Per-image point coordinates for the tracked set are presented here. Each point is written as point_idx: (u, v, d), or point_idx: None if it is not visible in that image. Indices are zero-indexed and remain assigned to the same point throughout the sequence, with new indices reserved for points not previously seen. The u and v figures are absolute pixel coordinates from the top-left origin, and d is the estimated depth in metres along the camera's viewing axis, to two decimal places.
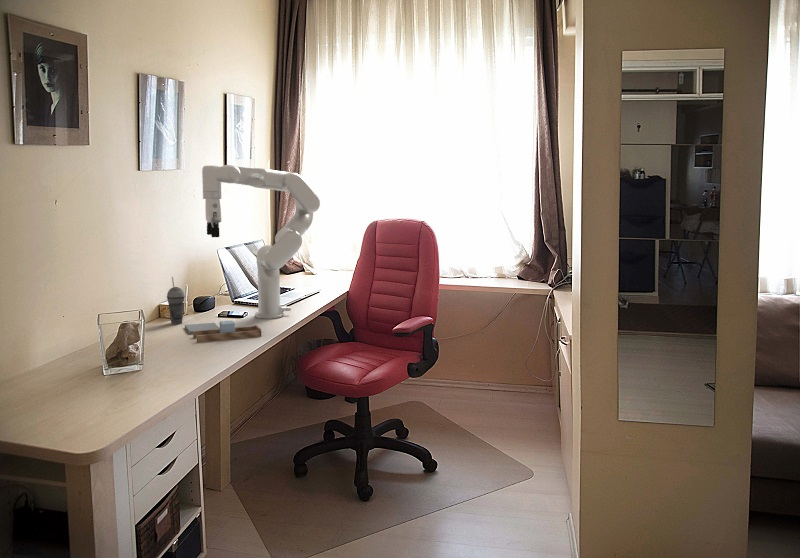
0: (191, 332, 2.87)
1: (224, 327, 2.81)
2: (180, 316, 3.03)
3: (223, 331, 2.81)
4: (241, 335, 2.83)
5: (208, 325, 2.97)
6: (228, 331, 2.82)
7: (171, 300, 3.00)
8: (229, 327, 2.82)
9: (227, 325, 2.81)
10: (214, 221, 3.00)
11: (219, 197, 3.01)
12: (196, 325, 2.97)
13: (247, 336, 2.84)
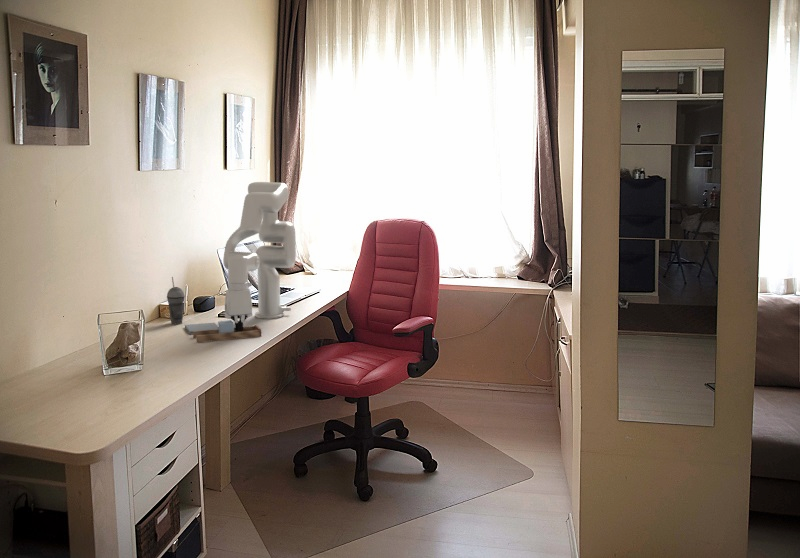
0: (191, 332, 2.87)
1: (223, 327, 2.81)
2: (180, 316, 3.03)
3: (222, 331, 2.81)
4: (241, 335, 2.83)
5: (208, 325, 2.97)
6: (227, 331, 2.82)
7: (171, 300, 3.00)
8: (228, 327, 2.81)
9: (226, 325, 2.81)
10: None
11: None
12: (196, 325, 2.97)
13: (247, 336, 2.84)
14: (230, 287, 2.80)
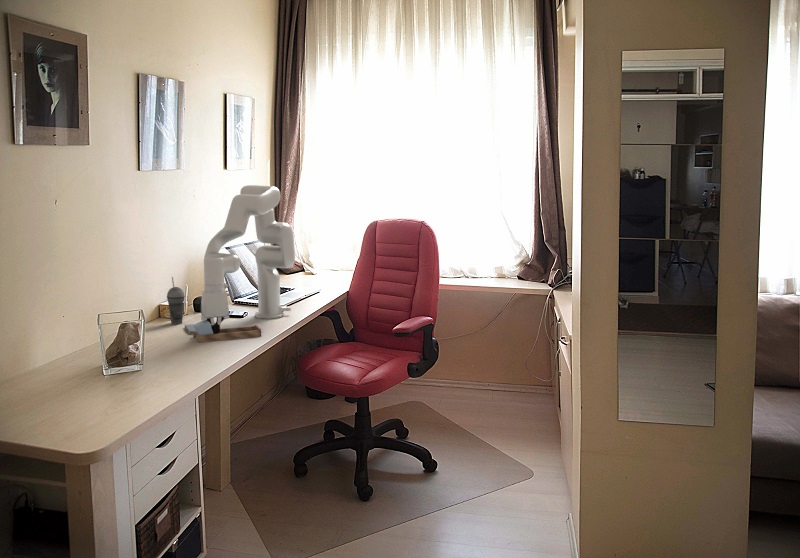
0: (191, 332, 2.87)
1: (200, 329, 2.76)
2: (180, 316, 3.03)
3: (200, 333, 2.77)
4: (241, 335, 2.83)
5: None
6: (205, 331, 2.77)
7: (171, 300, 3.00)
8: (205, 327, 2.77)
9: (202, 326, 2.77)
10: None
11: None
12: None
13: (247, 336, 2.84)
14: (206, 289, 2.76)
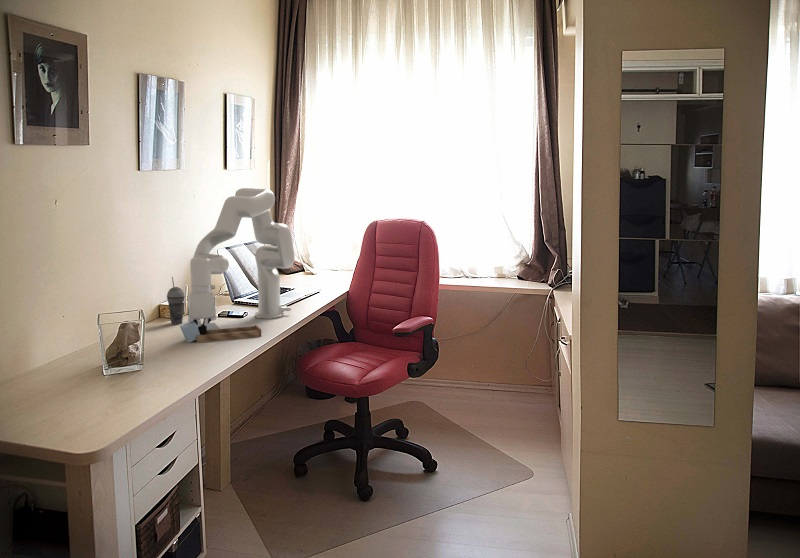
0: None
1: (186, 331, 2.74)
2: (180, 316, 3.03)
3: (187, 335, 2.74)
4: (241, 335, 2.83)
5: (208, 325, 2.97)
6: (192, 333, 2.75)
7: (171, 300, 3.00)
8: (191, 329, 2.75)
9: (189, 328, 2.74)
10: None
11: None
12: None
13: (247, 336, 2.84)
14: (192, 290, 2.74)
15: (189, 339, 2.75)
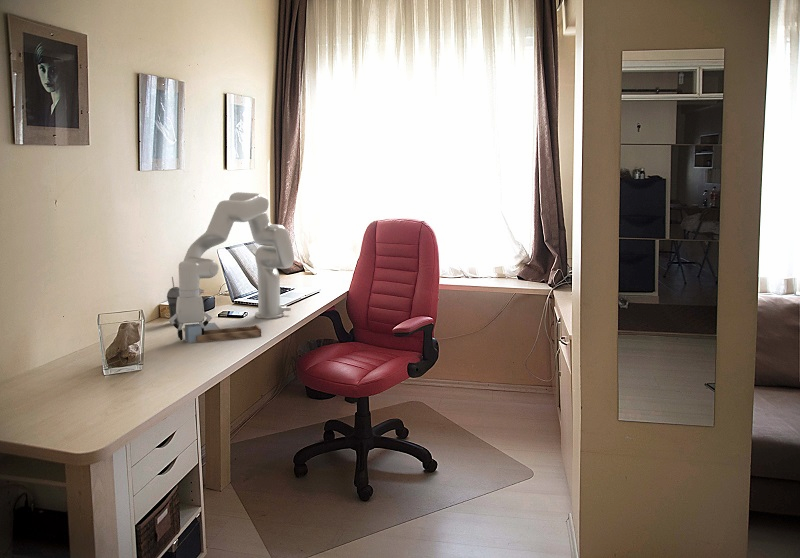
0: None
1: (190, 330, 2.75)
2: None
3: (189, 334, 2.75)
4: (241, 335, 2.83)
5: (208, 325, 2.97)
6: (194, 334, 2.76)
7: (171, 300, 3.00)
8: (195, 330, 2.76)
9: (193, 328, 2.75)
10: None
11: None
12: None
13: (247, 336, 2.84)
14: (181, 294, 2.73)
15: (190, 339, 2.75)
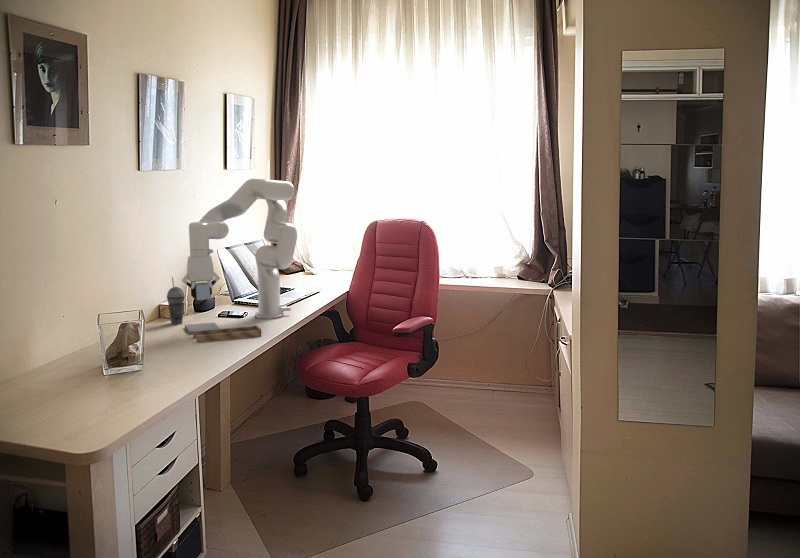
0: (191, 332, 2.87)
1: (199, 288, 2.88)
2: (180, 316, 3.03)
3: (198, 292, 2.88)
4: (241, 335, 2.83)
5: (208, 325, 2.97)
6: (203, 292, 2.89)
7: (171, 300, 3.00)
8: (204, 288, 2.89)
9: (202, 286, 2.88)
10: None
11: None
12: (196, 325, 2.97)
13: (247, 336, 2.84)
14: (191, 253, 2.86)
15: (199, 297, 2.88)
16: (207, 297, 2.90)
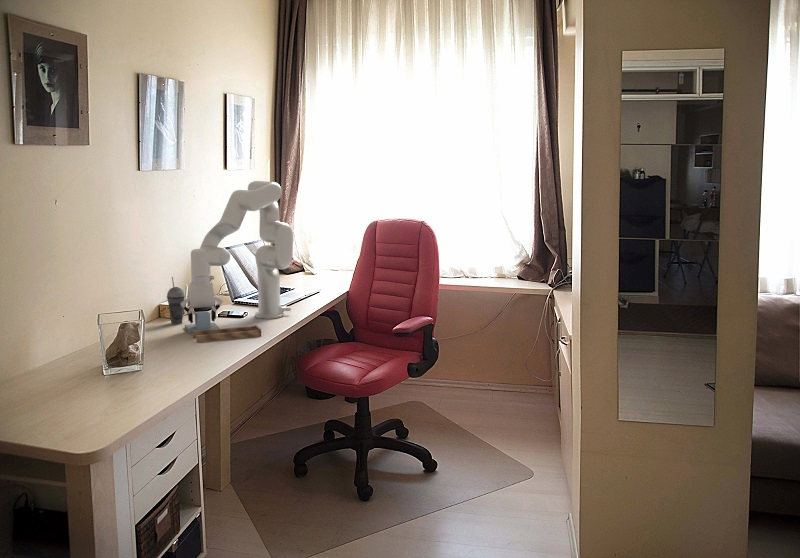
0: (191, 332, 2.87)
1: (200, 317, 2.91)
2: (180, 316, 3.03)
3: (199, 321, 2.91)
4: (241, 335, 2.83)
5: None
6: (203, 321, 2.92)
7: (171, 300, 3.00)
8: (204, 317, 2.91)
9: (202, 315, 2.91)
10: None
11: None
12: None
13: (247, 336, 2.84)
14: (193, 280, 2.89)
15: (199, 326, 2.91)
16: (207, 326, 2.93)
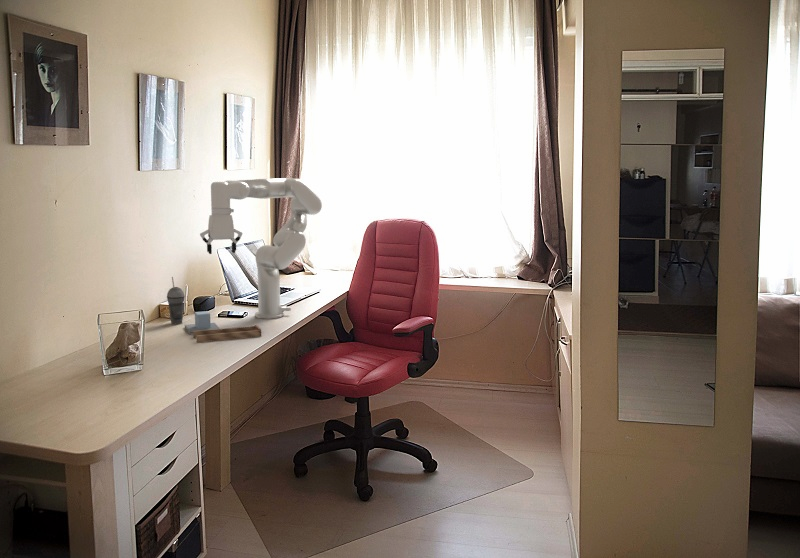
0: (191, 332, 2.87)
1: (200, 317, 2.91)
2: (180, 316, 3.03)
3: (199, 321, 2.91)
4: (241, 335, 2.83)
5: None
6: (203, 321, 2.92)
7: (171, 300, 3.00)
8: (204, 317, 2.91)
9: (202, 315, 2.91)
10: None
11: None
12: None
13: (247, 336, 2.84)
14: (213, 212, 2.94)
15: (199, 326, 2.91)
16: (207, 326, 2.93)
